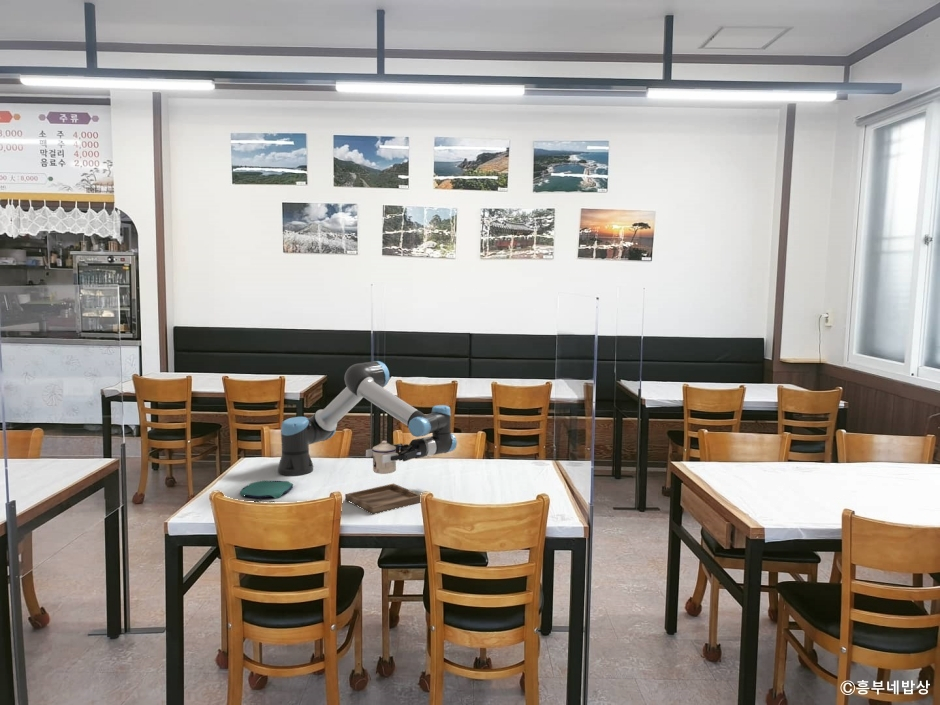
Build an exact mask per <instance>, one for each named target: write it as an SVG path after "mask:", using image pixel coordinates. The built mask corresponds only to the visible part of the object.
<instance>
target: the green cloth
mask: <svg viewBox="0 0 940 705" xmlns="http://www.w3.org/2000/svg"><path fill="white" fill-rule="evenodd" d="M293 488H294V484H293V483H292V482H291V481H287V480H259V481H255V482H251V483H250V484H248V485H245V486H243V487H242V488H241V490H240V491H239V494H240V495H241V496H242V497H244V495H245V497H248V498H253V499H254V498H257V499H256V500H252V499H251V500H252V501H263V500H261V499H262V498H272V497H273V498H274V499H279V498H281V496H282V495H283V494H287V493H289V492H290V491H291V490H293ZM258 498H259V499H258ZM260 498H261V499H260ZM268 501H269V502H268V503H273V502H274V503H275V500H273V501H272V500H268Z"/></svg>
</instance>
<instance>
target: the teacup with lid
mask: <svg viewBox="0 0 940 705" xmlns="http://www.w3.org/2000/svg"><path fill="white" fill-rule="evenodd" d="M393 445H394V444H390V443H389V442H388V441H387V440H382V441H381V442H380V443H378V444H377V445H374V446H373V447H372V448H371V449H372V451H373V456H372V472H373V473H375V474H378V475H379V474H380V475H383V474H384V475H386V474H387V475H388V474H392V473H394V472H396V470H397V461H393V462H388V463H382V456H384V455H389V454H394V453H396V447H395V446H393Z"/></svg>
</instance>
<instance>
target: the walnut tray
mask: <svg viewBox="0 0 940 705" xmlns="http://www.w3.org/2000/svg"><path fill="white" fill-rule="evenodd" d="M420 495H421V494H420V493H417V492H414V491H413V490H410V489H407V488H406V487H404V486H400V485H399V484H396V483H391V484H386V485H385V484H384V485H381V486H376V487H372V488H367V489H362V490H358V491H353V492H349V493H345V495H344V496H345V497H344V498H345V499H344V500H347V501H350V502H352V503H354V504H355V505H358V506H359V507H361V508H363V509H364V510H363V509H362V510H363V511H365V510H366V511H365V512H367V511H368V512H367V513H369V512H370V513H369V514H371V513H372V514H371V515H376V514H375V513H377V514H381V513H384V512H383V511H385V512H388V511H387V510H389V511H392V510H391V509H393V510H396V509H395V508H397V509H400V508H399V507H401V508H404V507H403V506H405V507H408V505H409V506H411V505H412V506H413V505H416V504H421V503H420ZM347 501H346V502H347ZM355 505H354V506H355ZM359 507H358V508H359ZM361 508H360V509H361ZM380 512H381V513H380Z"/></svg>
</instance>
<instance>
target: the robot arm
mask: <svg viewBox="0 0 940 705" xmlns="http://www.w3.org/2000/svg"><path fill="white" fill-rule="evenodd" d="M389 381H390V371H389V368H388V367H387V365H386V364H385V363H384V362H383V361H379V360H377V361H376V360H372V361H368V362H360V363H354V364H352V365H351V366H349V367H348V368H347V370H346V371H345V374H344V384H345V386H346V387H345V388H343V389H342V390H341V391H340V393H339V394H338V395H337V396H335V397H334V398H333V399H332V400H331V401H330V403H329V404H327V406H326V407H325V408H323V409H318V410H317V411H316V412H315V413H314V414H313V415H312V416H311V417H306V416H296V417H290V418H286V419H285V420H283V421H282V422H281V427H280V428H281V429H280V437H281V438H280V439H281V440H280V442H281V457H280V459H279V462H278V466H277V473H278V474H279V475H284V476H302V475H307V474H310V473H312V472H313V471H314V463H313V461H312V458H311V456H310V445H312V444H315V443H319V442H325V441H327V440H329V439H331V438H332V437H333V436H334V435H335V434H336V431H337V430H336V429H337V427H338V422H339V421H341V419H343V417H345V416H346V415H347V414H348V413H349V412H350V411H351V410H352V409H353V408H354V407H355V406H356V405H357V404H359V402H361V400H362V399H363V398H364V399H366V400H367V401H368V402H370V403H372V404H373V405H374V406H376V407H377V408H379V409H380V410H383V411H384V412H386V413H387V414H389V415H390V416H391V417H393V418H395V419H396V420H397V421H398V422H401V424H403V425H405V426H407V427H408V431H409V432H410V434H411V435H412V436H413V437H416V438H415V439H412V440H410V442H409V444H403V443H398V444H392V445H393V446H395V447H396V453H394V454H389V455H384V456H382V463H388V462H393V461H396V462H397V461H402V462H407V461H409V460H412V459H421V458H425V457H426V458H430V456H436V455H439V454H442V455H443V454H447V453H451V452H453V451H455V449H456V448H457V446H458V444H457V443H458V441H457V437H456V435H454V433H451V429H452V428H451V425H452V419H451V418H452V414H451V413H452V412H451V407H450V406H449V405H445V404H441V405H439V404H438V405H434V406H433V407H432V409H431V413H427V414H424V413H423V412H422V411H420V410H419V409H417V408H415V407H413V406H412V405H410V404H409V403H407V402H406V401H405V400H403V399H402V398H400V397H398V396H396V395H395V394H393V393H392V392H390V391H389V390H387V389H386V388H385V387H386V386H387V385H388V383H389ZM429 434H432V435H431V436H427V435H429ZM424 436H426V437H424ZM419 437H421V438H419ZM372 449H373V448H371V449H370V448H368V449H366V450H365V458H371V457H372V458H373V451H372Z"/></svg>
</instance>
